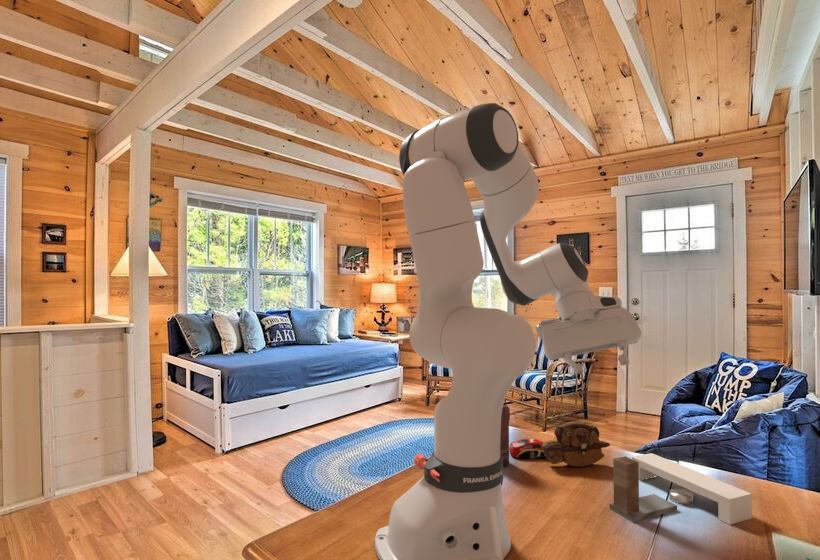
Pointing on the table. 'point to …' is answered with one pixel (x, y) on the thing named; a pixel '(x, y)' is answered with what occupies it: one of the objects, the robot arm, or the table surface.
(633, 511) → the brown l-shaped block
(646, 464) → the low shelf
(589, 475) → the table surface
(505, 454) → the can
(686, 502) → the steel bowl
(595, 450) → the wooden carving
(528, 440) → the race car
